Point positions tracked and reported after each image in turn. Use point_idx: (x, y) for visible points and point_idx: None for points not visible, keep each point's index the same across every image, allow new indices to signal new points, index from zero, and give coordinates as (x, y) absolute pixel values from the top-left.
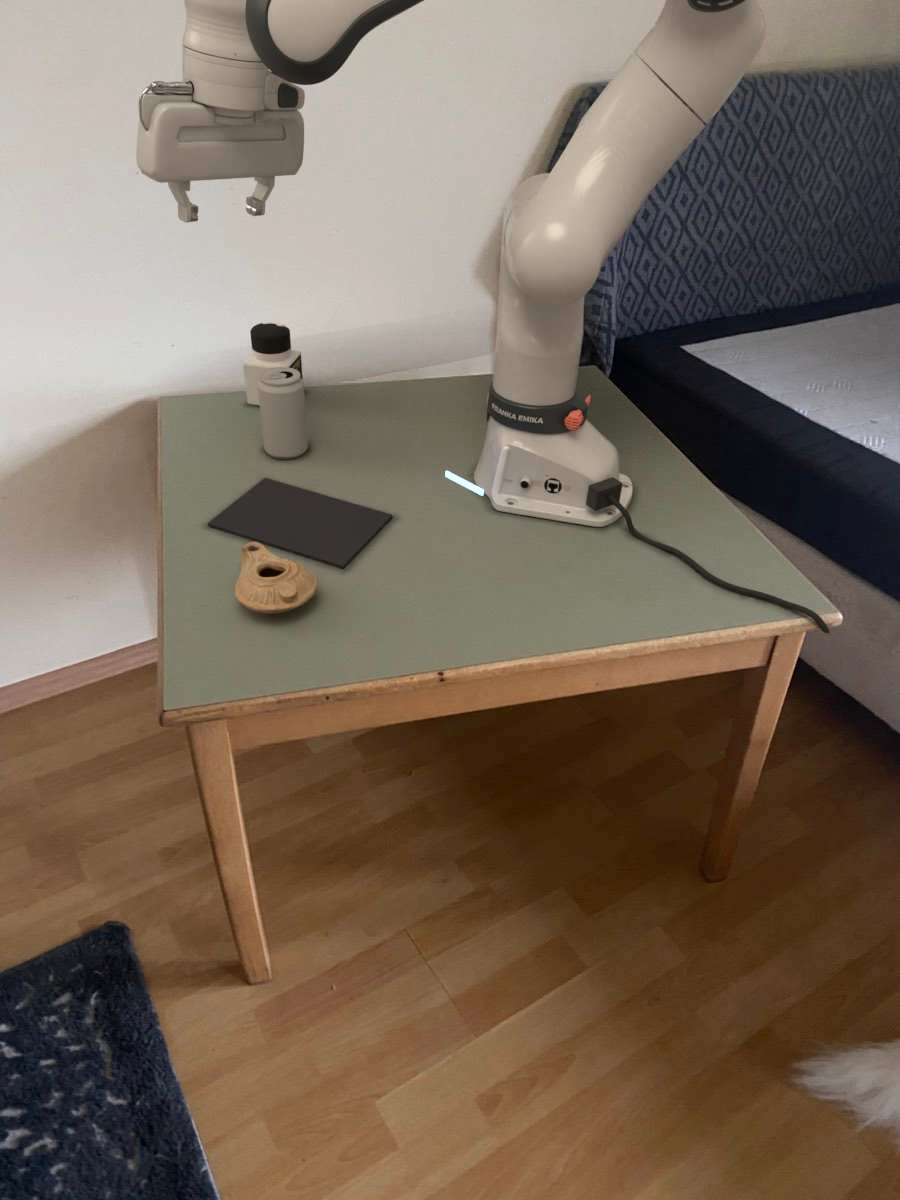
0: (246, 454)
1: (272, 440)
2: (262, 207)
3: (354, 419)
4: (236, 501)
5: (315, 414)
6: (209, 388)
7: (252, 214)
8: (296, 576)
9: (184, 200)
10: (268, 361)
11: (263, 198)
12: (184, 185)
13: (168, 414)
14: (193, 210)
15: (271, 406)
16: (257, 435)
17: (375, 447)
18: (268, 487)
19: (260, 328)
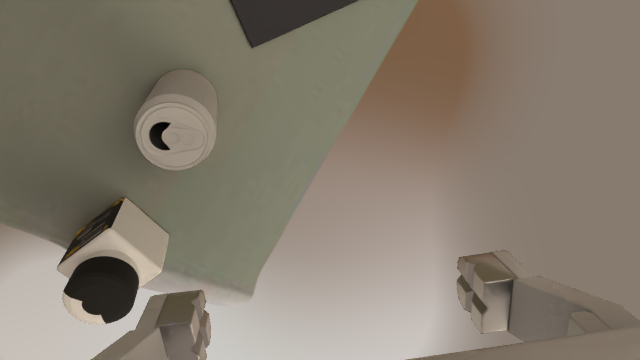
0: (237, 122)
1: (213, 93)
2: (157, 310)
3: (41, 122)
4: (314, 17)
5: (93, 167)
6: None
7: (203, 301)
8: None
9: (566, 288)
10: (126, 256)
11: (144, 335)
12: (613, 327)
13: (266, 256)
14: (499, 271)
15: (209, 105)
16: None
17: (51, 25)
18: (262, 21)
19: (115, 303)
